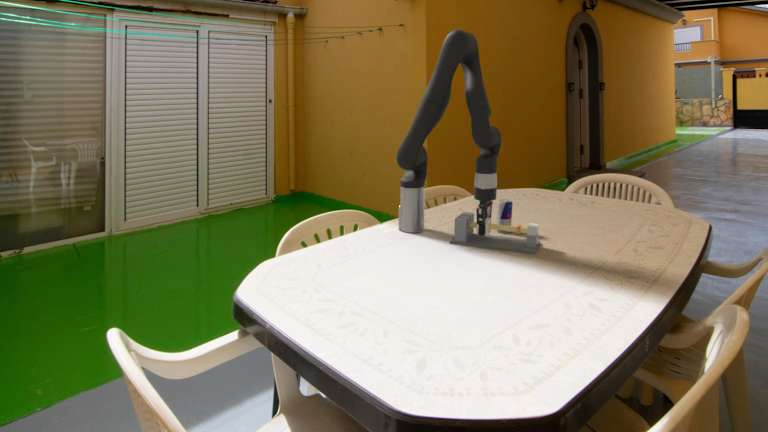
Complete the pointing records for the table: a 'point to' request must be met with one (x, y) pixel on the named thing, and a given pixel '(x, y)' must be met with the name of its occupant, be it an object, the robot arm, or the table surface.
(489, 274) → the table surface
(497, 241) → the grey base plate
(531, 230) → the cord rig
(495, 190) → the robot arm
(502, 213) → the energy drink
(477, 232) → the sleeve
